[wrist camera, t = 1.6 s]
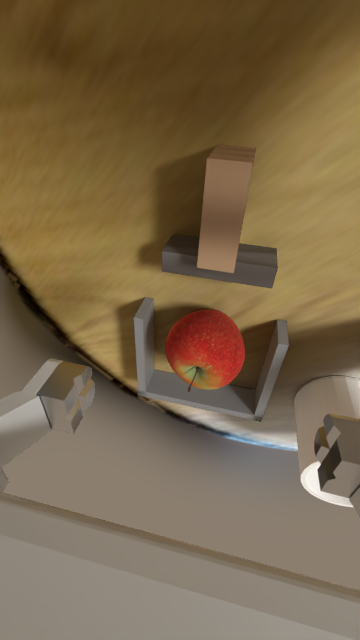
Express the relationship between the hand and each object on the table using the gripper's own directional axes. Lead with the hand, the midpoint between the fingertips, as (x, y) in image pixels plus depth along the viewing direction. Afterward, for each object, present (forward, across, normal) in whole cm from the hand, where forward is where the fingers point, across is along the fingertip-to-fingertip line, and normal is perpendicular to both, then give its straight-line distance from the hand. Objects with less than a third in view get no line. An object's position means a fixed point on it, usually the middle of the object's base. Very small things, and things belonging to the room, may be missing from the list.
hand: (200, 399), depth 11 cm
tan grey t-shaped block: (+21, +1, -1) cm, 21 cm away
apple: (+22, +1, +13) cm, 25 cm away
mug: (+22, -17, +23) cm, 36 cm away
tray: (+22, +1, +17) cm, 28 cm away
